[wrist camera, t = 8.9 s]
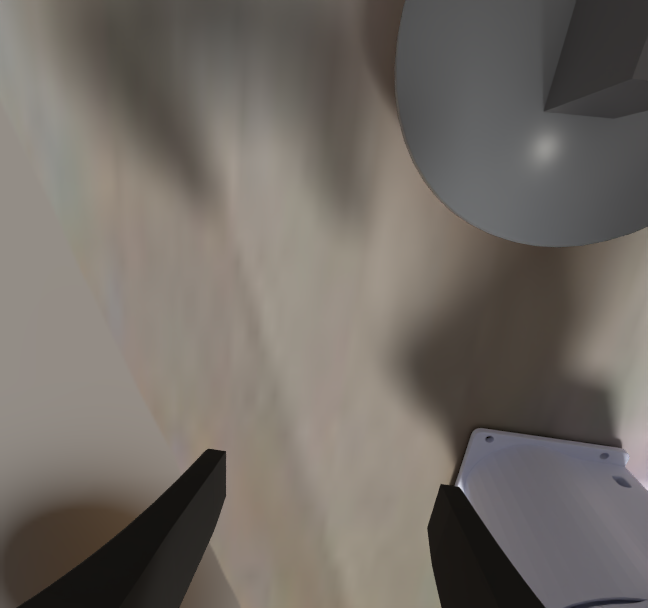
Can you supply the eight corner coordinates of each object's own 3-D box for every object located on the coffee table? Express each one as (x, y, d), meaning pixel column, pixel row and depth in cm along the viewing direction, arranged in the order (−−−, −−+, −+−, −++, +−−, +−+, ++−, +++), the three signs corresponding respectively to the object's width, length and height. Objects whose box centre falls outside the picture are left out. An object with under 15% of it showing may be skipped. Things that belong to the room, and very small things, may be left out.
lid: (925, -212, 9) (1483, -596, 5) (690, 261, 14) (853, 300, 9) (437, -237, 10) (509, -598, 5) (369, 224, 14) (375, 243, 10)
